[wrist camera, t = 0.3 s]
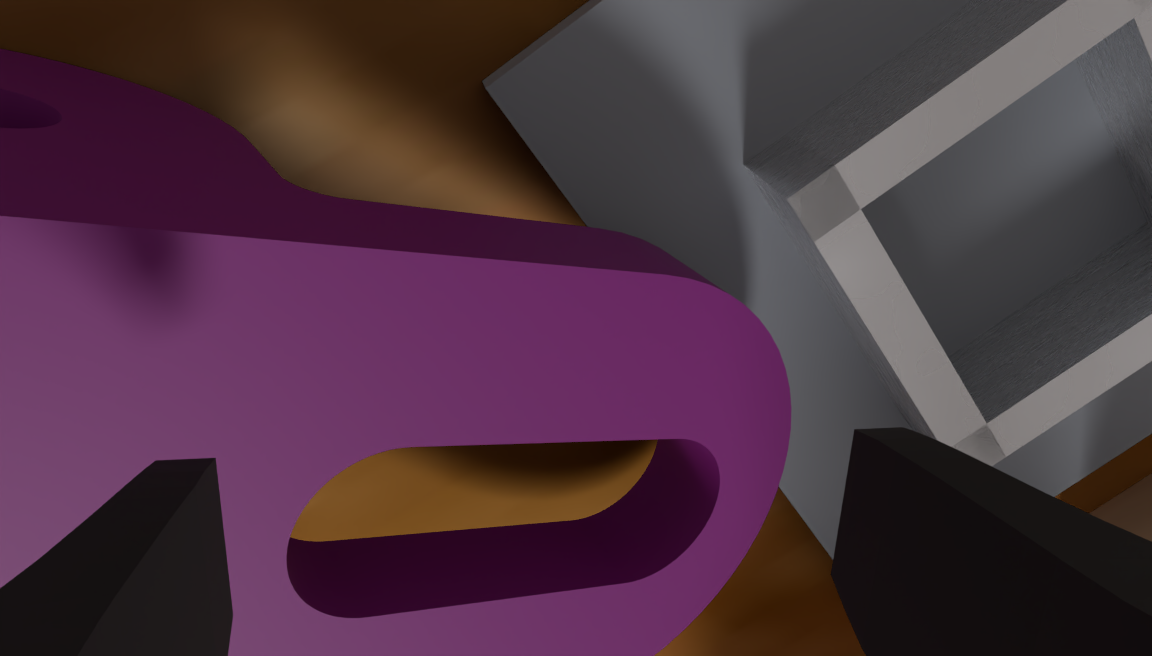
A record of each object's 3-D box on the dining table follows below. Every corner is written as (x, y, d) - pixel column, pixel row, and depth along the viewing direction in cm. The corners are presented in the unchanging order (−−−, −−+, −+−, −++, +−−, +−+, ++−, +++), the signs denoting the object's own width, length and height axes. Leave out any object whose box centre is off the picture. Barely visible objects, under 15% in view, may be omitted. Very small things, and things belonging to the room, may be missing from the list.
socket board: (1349, 274, 25) (1481, 328, 22) (859, 594, 26) (920, 686, 23) (1117, -397, 18) (1261, -454, 15) (482, 80, 20) (497, 115, 16)
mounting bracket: (618, 154, 25) (-347, -15, 15) (858, 292, 19) (-514, 163, 9) (519, 476, 29) (-335, 518, 18) (697, 686, 22) (-453, 930, 12)
